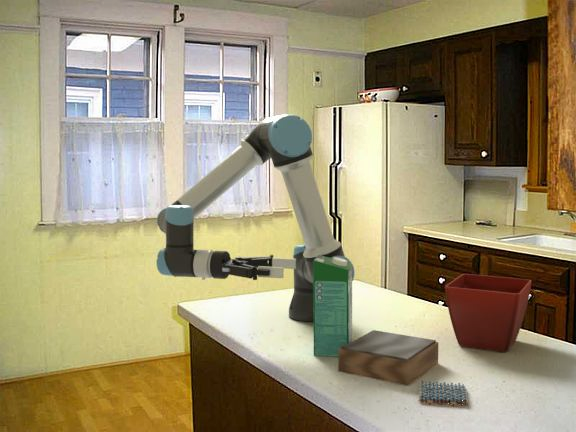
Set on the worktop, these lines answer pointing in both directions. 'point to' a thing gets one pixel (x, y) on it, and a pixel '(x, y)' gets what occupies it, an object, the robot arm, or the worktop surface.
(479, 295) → the plant pot
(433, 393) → the woven mat
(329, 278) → the milk carton
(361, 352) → the podium
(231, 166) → the robot arm
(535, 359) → the worktop surface
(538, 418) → the worktop surface
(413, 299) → the worktop surface
